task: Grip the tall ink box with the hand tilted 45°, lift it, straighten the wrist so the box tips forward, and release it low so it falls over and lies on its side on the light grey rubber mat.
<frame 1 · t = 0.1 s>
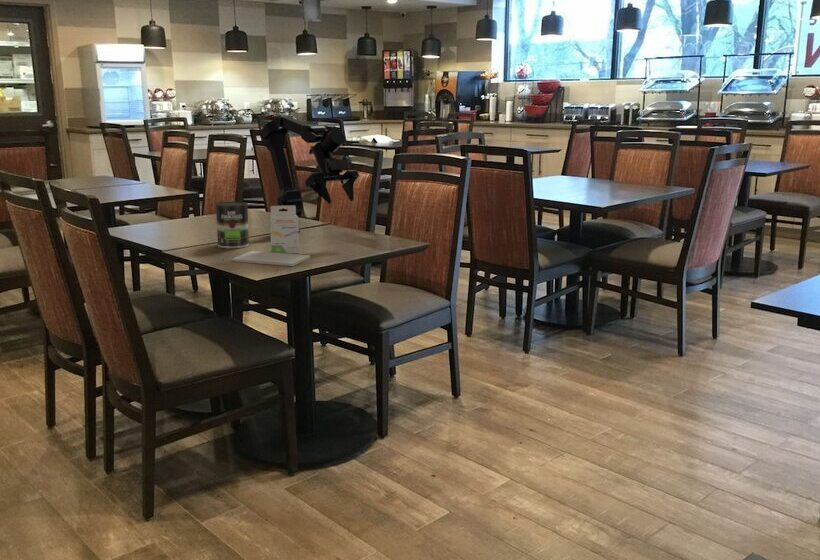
hand: (341, 201, 243), 15 cm above the table, tool tilted 35°, fingers open, 9 cm apart
ink box: (285, 253, 237), on the table
coffee can: (233, 246, 246), on the table
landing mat: (271, 259, 226), on the table
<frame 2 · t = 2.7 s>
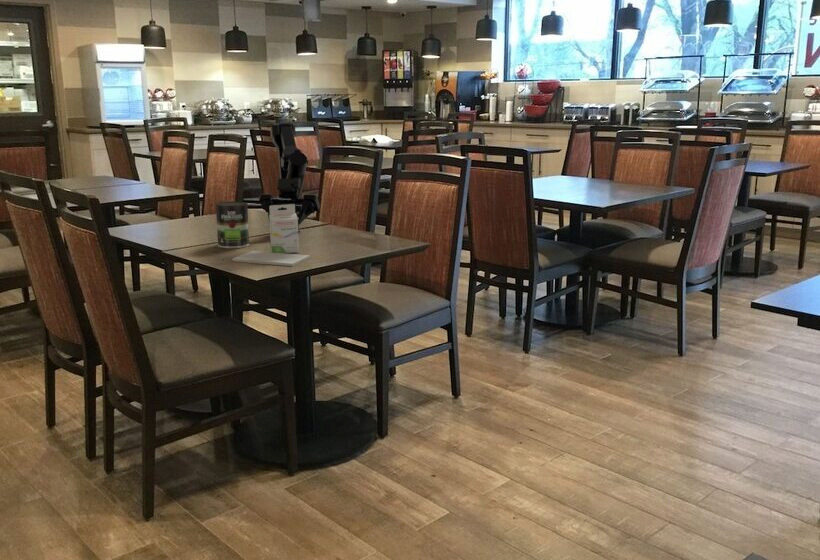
hand: (284, 223, 233), 10 cm above the table, tool tilted 45°, fingers open, 9 cm apart
ink box: (285, 250, 236), point 1 cm above the table, touching gripper
everything else where it was.
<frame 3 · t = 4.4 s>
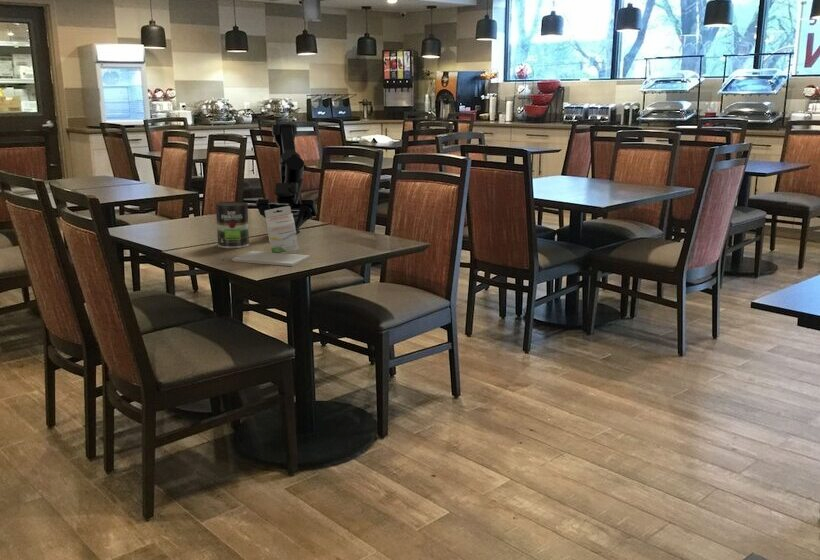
hand: (281, 228, 230), 8 cm above the table, tool tilted 50°
ink box: (284, 247, 236), point 2 cm above the table, touching gripper
everything else where it was.
when the fingers open (8 cm above the table, at t = 4.9 s): ink box moves 2 cm, resting on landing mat.
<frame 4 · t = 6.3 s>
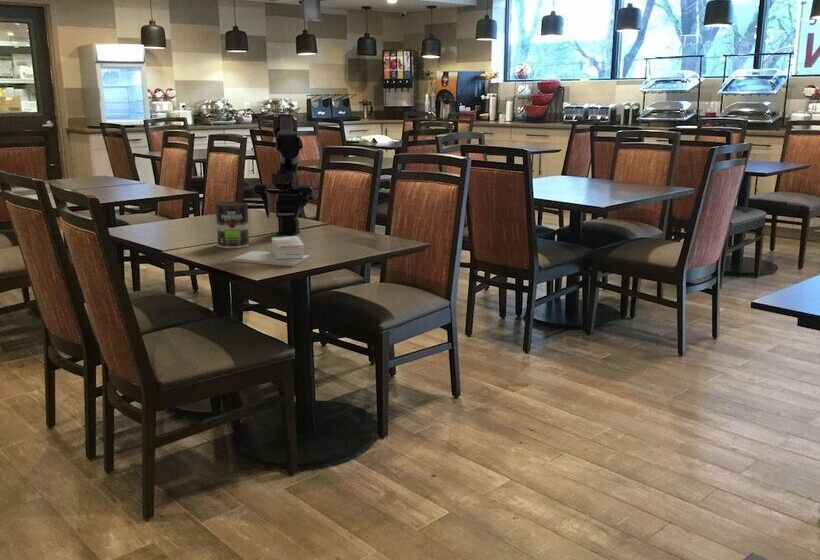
hand: (281, 218, 230), 12 cm above the table, tool tilted 30°, fingers open, 8 cm apart
ink box: (285, 243, 234), point 3 cm above the table, touching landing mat
everything else where it was.
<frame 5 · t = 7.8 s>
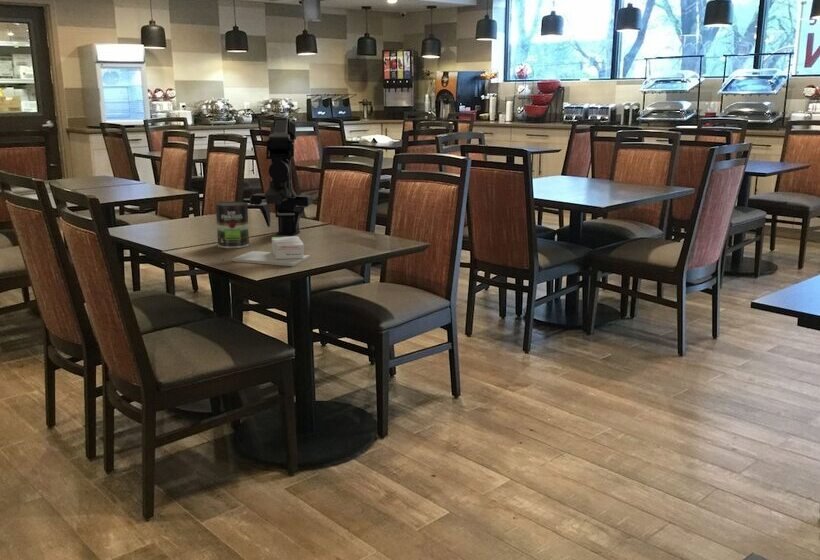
hand: (282, 227, 232), 8 cm above the table, tool pointing down, fingers open, 8 cm apart
nothing on the table moved.
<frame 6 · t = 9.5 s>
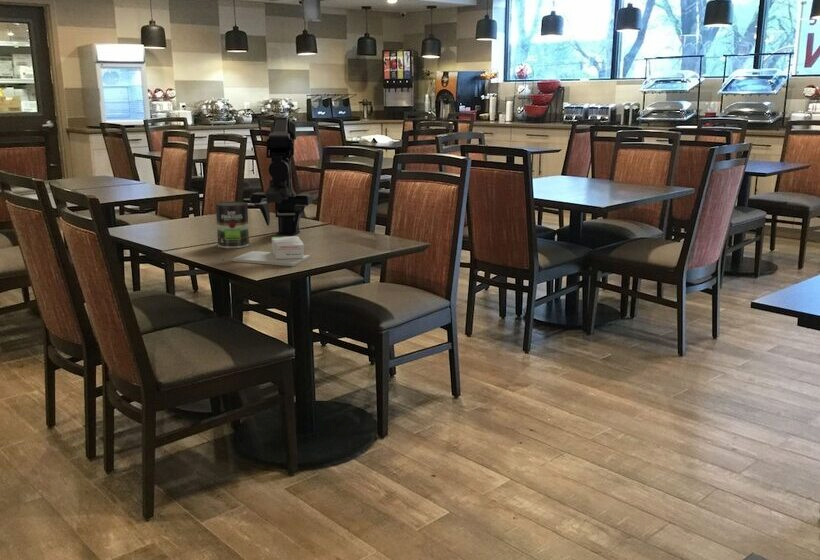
hand: (282, 226, 232), 9 cm above the table, tool pointing down, fingers open, 9 cm apart
nothing on the table moved.
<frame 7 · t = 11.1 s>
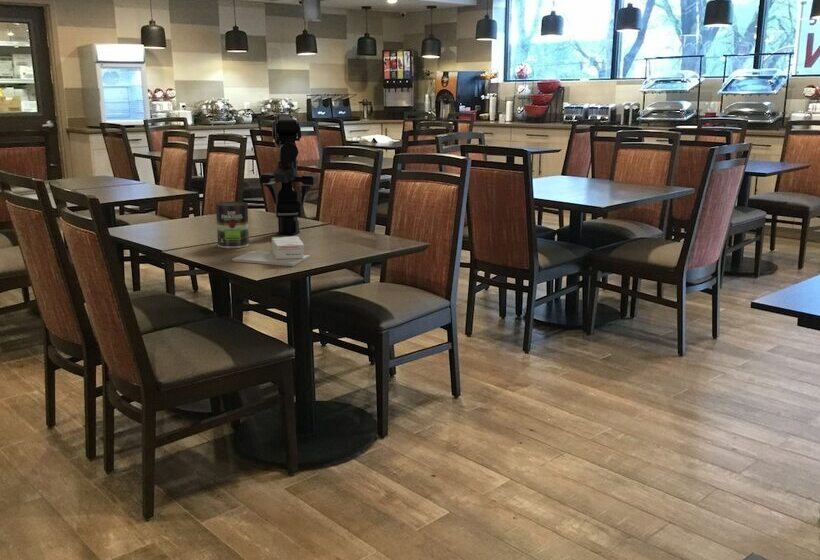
hand: (289, 204, 250), 13 cm above the table, tool pointing down, fingers open, 9 cm apart
nothing on the table moved.
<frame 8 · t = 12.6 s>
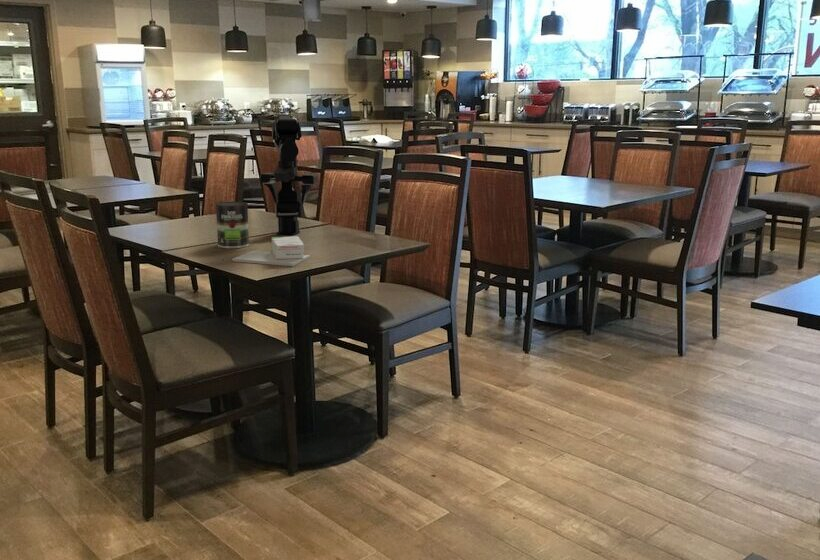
hand: (289, 204, 250), 13 cm above the table, tool pointing down, fingers open, 9 cm apart
nothing on the table moved.
at the end: ink box tilted 89°; ink box touching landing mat; the gripper is holding nothing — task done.
